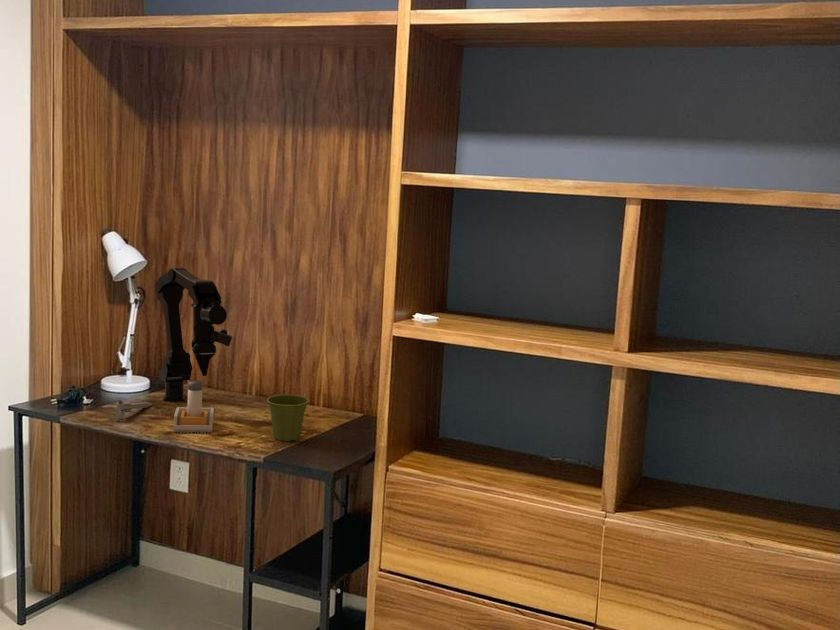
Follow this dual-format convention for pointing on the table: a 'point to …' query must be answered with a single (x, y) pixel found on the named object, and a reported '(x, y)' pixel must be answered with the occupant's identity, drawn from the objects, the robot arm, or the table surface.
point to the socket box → (193, 421)
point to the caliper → (128, 408)
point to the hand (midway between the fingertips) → (203, 373)
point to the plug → (194, 399)
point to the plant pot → (287, 415)
